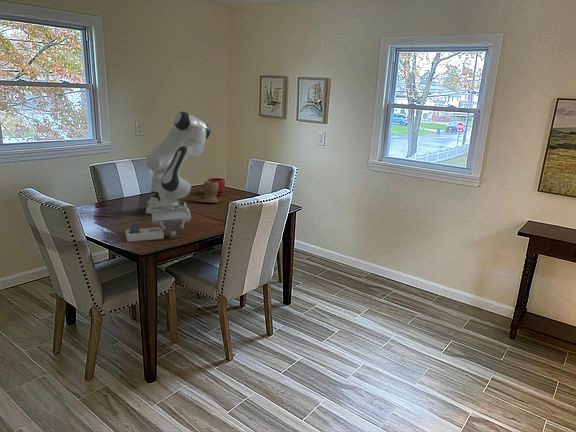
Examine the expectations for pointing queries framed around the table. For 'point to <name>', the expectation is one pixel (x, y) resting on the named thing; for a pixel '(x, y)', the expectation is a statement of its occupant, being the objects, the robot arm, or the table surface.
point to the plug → (173, 229)
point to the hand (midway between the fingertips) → (173, 228)
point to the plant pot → (221, 184)
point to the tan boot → (209, 193)
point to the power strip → (143, 233)
